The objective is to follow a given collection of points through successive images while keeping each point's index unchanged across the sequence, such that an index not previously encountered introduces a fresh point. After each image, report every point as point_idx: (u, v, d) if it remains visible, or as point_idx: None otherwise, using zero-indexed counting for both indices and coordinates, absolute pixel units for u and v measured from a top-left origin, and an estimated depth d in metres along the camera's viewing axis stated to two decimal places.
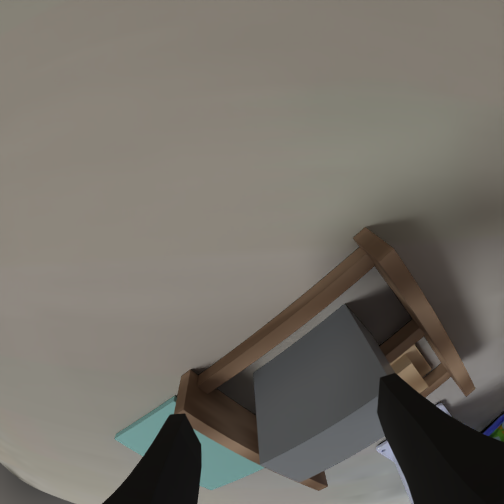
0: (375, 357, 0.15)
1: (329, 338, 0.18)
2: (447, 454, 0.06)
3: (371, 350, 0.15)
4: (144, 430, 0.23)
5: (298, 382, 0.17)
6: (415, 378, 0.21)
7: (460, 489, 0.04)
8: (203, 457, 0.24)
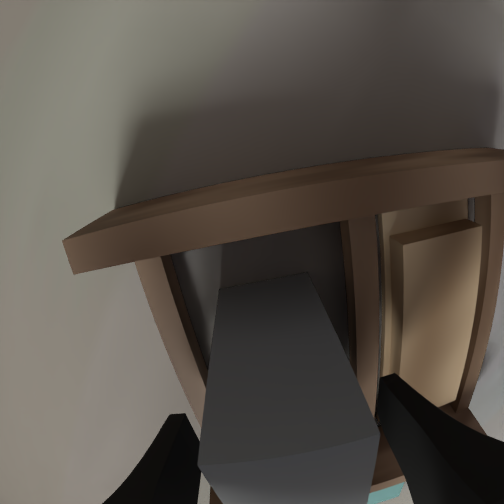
0: (206, 393, 0.07)
1: None
2: (447, 454, 0.06)
3: (208, 376, 0.08)
4: None
5: None
6: (443, 246, 0.11)
7: (460, 489, 0.04)
8: None
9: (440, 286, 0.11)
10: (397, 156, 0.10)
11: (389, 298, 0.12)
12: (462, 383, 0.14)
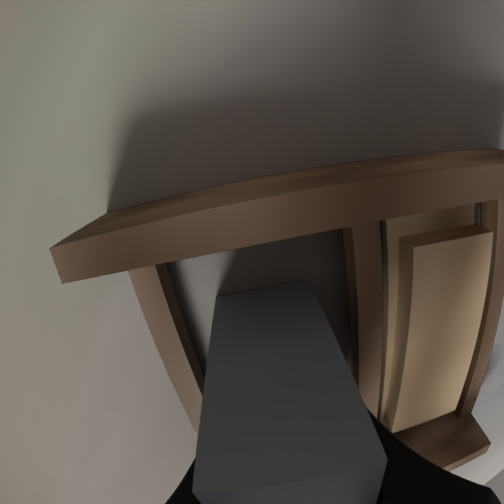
0: (201, 412, 0.07)
1: None
2: (384, 479, 0.06)
3: (204, 394, 0.07)
4: None
5: None
6: (454, 251, 0.10)
7: None
8: None
9: (448, 292, 0.11)
10: (402, 157, 0.10)
11: (392, 305, 0.12)
12: (465, 389, 0.13)
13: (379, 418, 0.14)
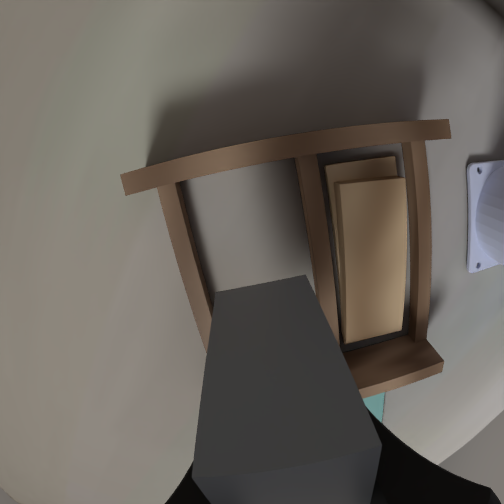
0: (201, 401, 0.07)
1: None
2: (384, 478, 0.06)
3: (204, 384, 0.07)
4: None
5: None
6: (372, 189, 0.16)
7: None
8: None
9: (372, 219, 0.17)
10: None
11: (337, 230, 0.18)
12: (415, 312, 0.20)
13: None
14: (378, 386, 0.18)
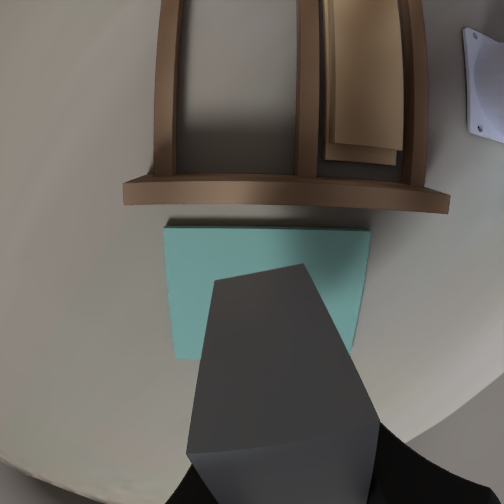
0: (197, 381, 0.07)
1: None
2: (383, 479, 0.06)
3: (201, 364, 0.08)
4: (183, 310, 0.19)
5: None
6: None
7: None
8: None
9: (364, 13, 0.13)
10: None
11: None
12: (411, 143, 0.16)
13: (325, 142, 0.17)
14: (366, 192, 0.14)
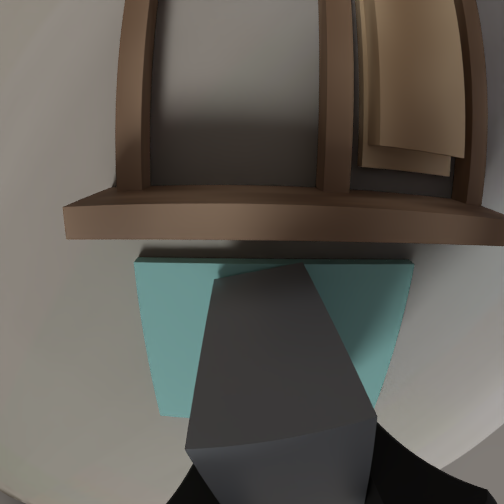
0: (197, 378, 0.07)
1: None
2: (380, 480, 0.06)
3: (200, 361, 0.08)
4: (166, 364, 0.14)
5: None
6: None
7: None
8: None
9: None
10: None
11: None
12: (468, 147, 0.11)
13: (361, 142, 0.11)
14: (428, 220, 0.09)
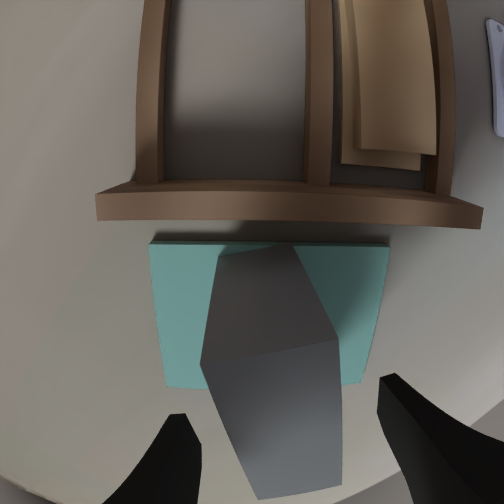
0: (207, 321, 0.10)
1: None
2: (447, 454, 0.06)
3: (209, 311, 0.10)
4: (174, 336, 0.17)
5: None
6: None
7: (460, 489, 0.04)
8: None
9: None
10: None
11: (343, 6, 0.11)
12: (436, 145, 0.13)
13: (341, 143, 0.14)
14: (392, 205, 0.11)
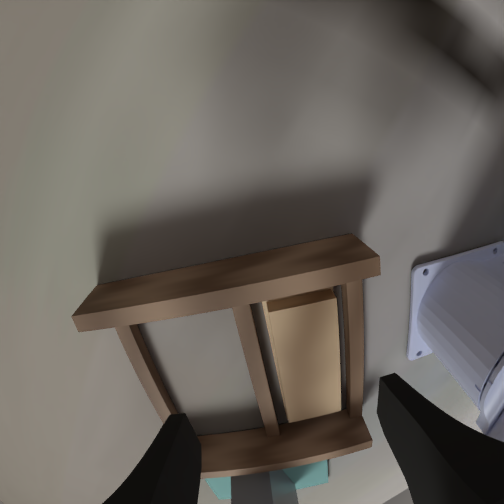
0: None
1: None
2: (447, 454, 0.06)
3: None
4: (217, 484, 0.26)
5: None
6: (301, 312, 0.18)
7: (460, 489, 0.04)
8: None
9: (303, 336, 0.19)
10: (265, 254, 0.18)
11: (272, 339, 0.20)
12: (349, 397, 0.22)
13: (285, 410, 0.23)
14: (308, 459, 0.20)
